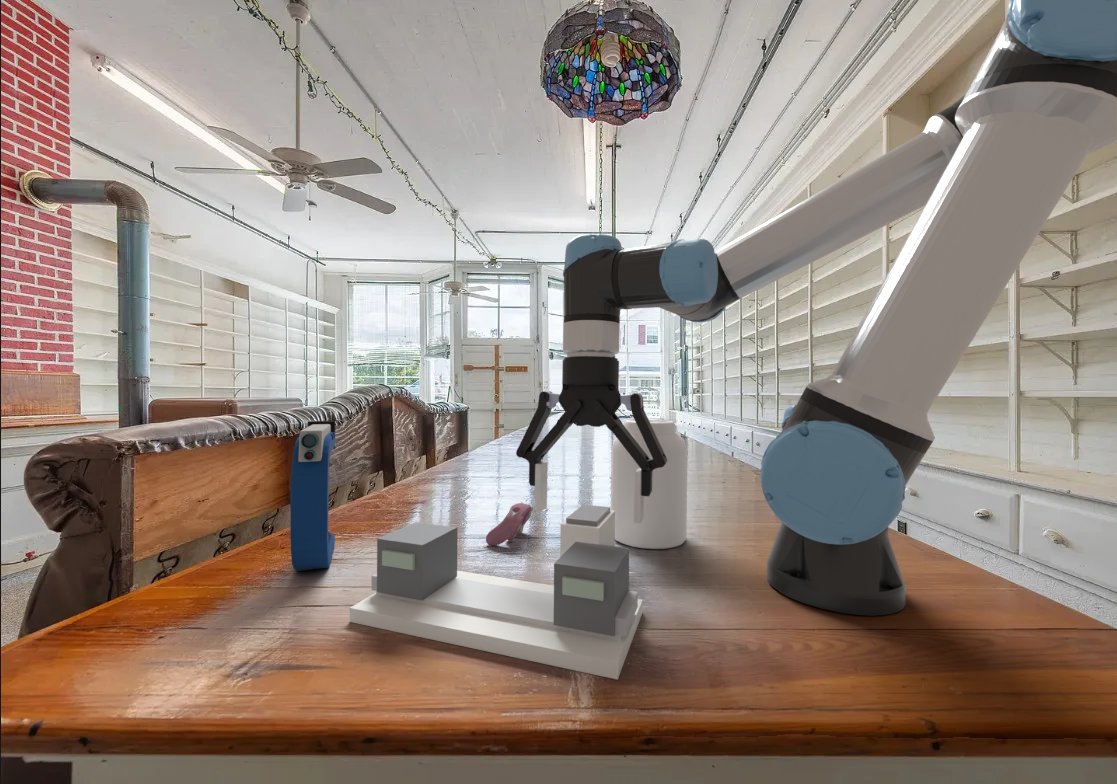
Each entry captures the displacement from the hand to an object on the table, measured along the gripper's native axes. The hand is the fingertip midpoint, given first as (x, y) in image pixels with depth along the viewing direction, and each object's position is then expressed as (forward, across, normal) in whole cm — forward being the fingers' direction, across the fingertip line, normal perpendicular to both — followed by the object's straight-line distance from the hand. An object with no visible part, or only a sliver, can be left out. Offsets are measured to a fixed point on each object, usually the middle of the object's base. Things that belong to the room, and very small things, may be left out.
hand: (588, 515), depth 64 cm
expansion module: (+8, 0, 0) cm, 8 cm away
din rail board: (+8, +6, +15) cm, 18 cm away
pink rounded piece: (+9, +16, -11) cm, 21 cm away
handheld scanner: (+9, +38, +9) cm, 40 cm away
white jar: (+8, -5, -19) cm, 21 cm away
